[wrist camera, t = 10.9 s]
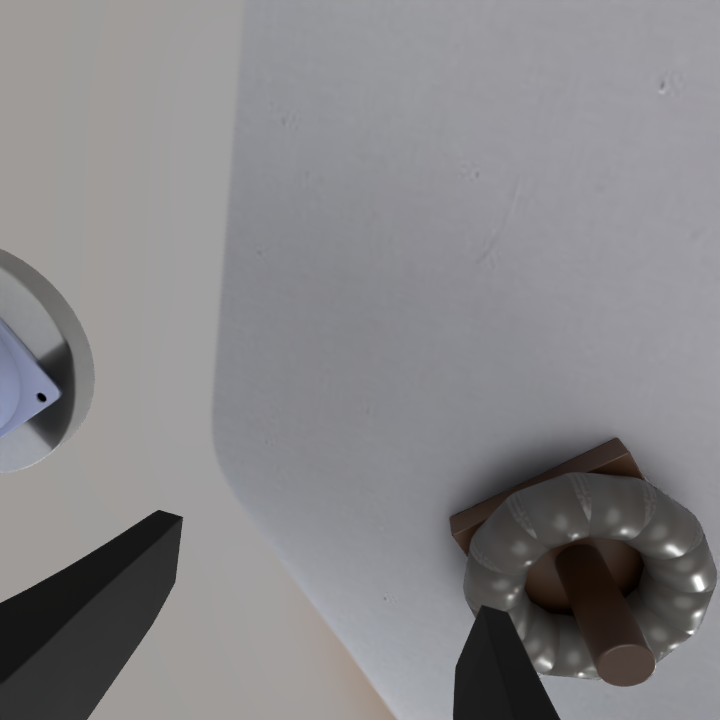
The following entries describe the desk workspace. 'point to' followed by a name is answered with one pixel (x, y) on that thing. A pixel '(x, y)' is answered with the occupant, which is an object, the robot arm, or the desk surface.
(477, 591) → the donut
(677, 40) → the desk surface
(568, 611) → the post
